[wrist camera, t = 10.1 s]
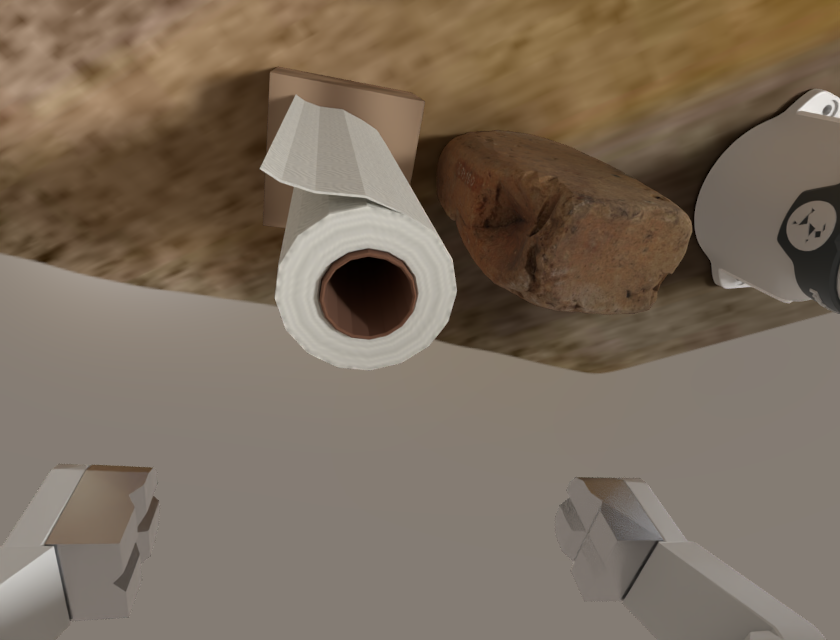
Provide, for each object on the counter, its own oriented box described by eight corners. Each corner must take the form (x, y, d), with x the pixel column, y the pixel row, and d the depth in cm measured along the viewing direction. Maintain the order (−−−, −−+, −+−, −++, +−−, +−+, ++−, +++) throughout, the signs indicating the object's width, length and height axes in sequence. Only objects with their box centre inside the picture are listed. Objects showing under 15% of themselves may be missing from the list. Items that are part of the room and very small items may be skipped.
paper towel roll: (388, 204, 37) (453, 369, 19) (303, 205, 36) (282, 380, 18) (389, 96, 34) (469, 168, 15) (295, 94, 33) (258, 168, 14)
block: (564, 138, 43) (724, 209, 26) (538, 223, 46) (664, 336, 29) (440, 115, 40) (525, 177, 23) (423, 207, 44) (485, 320, 27)
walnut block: (411, 92, 39) (425, 101, 34) (391, 217, 44) (399, 242, 39) (277, 66, 37) (269, 72, 32) (270, 201, 42) (262, 225, 36)
